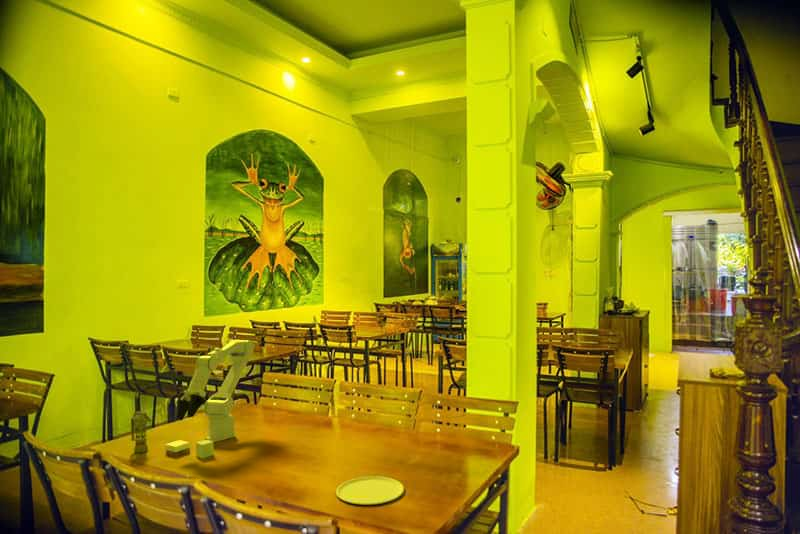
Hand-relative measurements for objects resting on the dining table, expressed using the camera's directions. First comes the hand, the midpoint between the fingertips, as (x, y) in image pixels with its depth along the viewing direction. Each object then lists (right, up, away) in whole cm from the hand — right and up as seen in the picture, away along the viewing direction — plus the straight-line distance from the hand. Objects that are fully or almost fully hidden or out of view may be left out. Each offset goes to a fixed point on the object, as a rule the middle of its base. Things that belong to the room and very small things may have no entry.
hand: (184, 417), depth 202 cm
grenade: (-20, -15, +7) cm, 26 cm away
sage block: (+7, -14, 0) cm, 16 cm away
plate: (+71, -13, -36) cm, 80 cm away
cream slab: (-4, -13, +4) cm, 14 cm away
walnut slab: (-4, -15, +4) cm, 16 cm away
